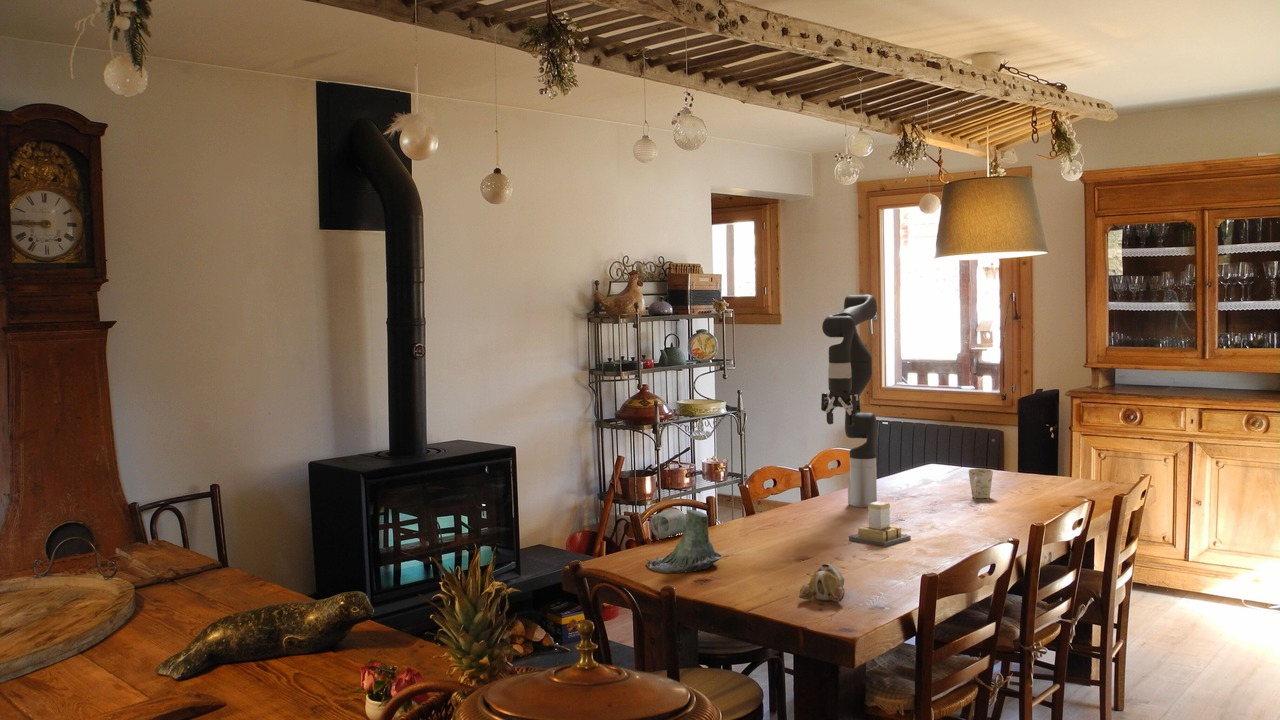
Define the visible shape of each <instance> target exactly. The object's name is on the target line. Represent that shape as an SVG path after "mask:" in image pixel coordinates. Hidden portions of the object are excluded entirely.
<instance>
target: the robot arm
mask: <svg viewBox="0 0 1280 720" xmlns="http://www.w3.org/2000/svg"><path fill="white" fill-rule="evenodd" d="M877 311H878V304H877V300H876V298H875V296H873V295H872V294H851V295H846V296H845V298H844V301H843V309H842V310H841V311H840V312H838V313H834V314H830V315H828V316H826V317H825V318H824V320H823V322H822V325H821V328H822V333H823V334H824V335H825V336H826V337H829V338H843V339H842V340H841V342H840V343H836V344H833V345H829V347H828V369H827V372H828V374H827V377H828V381H827V383H828V391H829V392H822V393H821V403H820V405H821V407H820V409H821V411H822V412H825V413H826V422H827V425H834V413H833V411H835V409H836V408H843V409H844V410H845V415H844V431H845V435H846V437H847V438H848V439H866V441H865V442H864V443H863V444H861V445H858V446H856V447H855V446H854V447H852V448H851V449H850V450H849V477H848V478H847V504H848V505H849V504H850V506H851V507H855V508H868V503H872V502H876V501H878V498H877V497H878V494H877V491H878V490H877V488H878V487H877V416H876V414H875V413H873V412H861V401H860V396H861V395H862V394H863V393H862V392H864V390H865V388H867V385H868V384H869V382H870V380H871V378H872V376H873V359H872V355H871V352H870V351H869V349H868V347H867V346H866V345H865V343H864V341H863V340H862V338H861V337H860V335H859V333H858V329H857V326H858V325H860V324H862V323H864V322H866V321H869V320H873V319H874V318H875V317H876V315H877V313H878V312H877Z"/></svg>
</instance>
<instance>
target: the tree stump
mask: <svg viewBox="0 0 1280 720" xmlns="http://www.w3.org/2000/svg"><path fill="white" fill-rule="evenodd" d="M685 517H686V521H685V525H683V529H684V531H683V533H682V535H681V539H680V540H678V542H677V543H676V545H675V546H674V549H673V550H672V551H671V552H669V554H667V555H666V556H664V557H662V556H661V557H658V556H657V557H656V558H655V559H653V560H648V559H647V561H646V567H647V568H648V570H650V569H651V571H653V570H654V572H657V571H659V573H663V572H665V574H678V573H677V572H684V573H686V572H685V571H694V572H696V571H695V570H699V571H702V570H701V569H704V570H707V569H709V568H710V567H711V566H712V565H713V564H715V563H717V562H718V561H720V560H721V559H722V555H721V554H720V553H718V552H717V551H715V549H714V545H713V544H712V542H711V540H710V536H709V535H710V534H709V515H707V514H706V513H704V512H701V511H699V510H696V509H695V510H694V509H689V508H688V509H686V515H685ZM656 565H657V566H656ZM706 568H707V569H706Z"/></svg>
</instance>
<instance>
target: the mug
mask: <svg viewBox="0 0 1280 720" xmlns="http://www.w3.org/2000/svg"><path fill="white" fill-rule="evenodd" d="M993 471H994V470H993V469H989V468H988V469H987V468H969V469H968V475H969V476H968V477H969V484H970V490H971V496H972V498H973V497H974V498H973V499H976V498H988V499H990V498H989V497H991V490H992V481H993V475H994V472H993Z"/></svg>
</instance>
